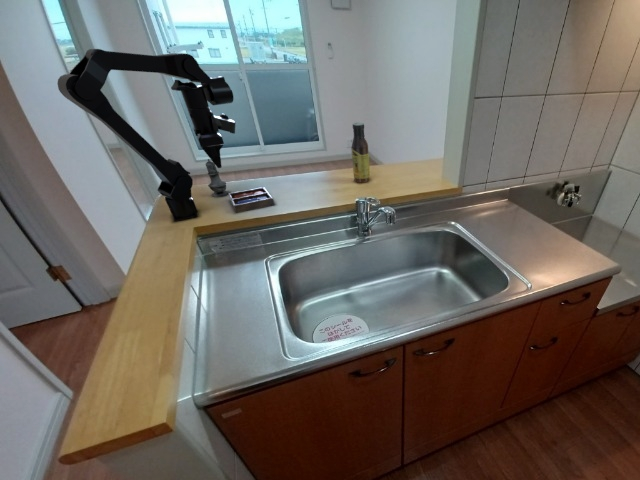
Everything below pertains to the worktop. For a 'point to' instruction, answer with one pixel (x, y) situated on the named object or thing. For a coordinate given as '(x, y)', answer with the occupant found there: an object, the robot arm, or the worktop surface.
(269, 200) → the tray
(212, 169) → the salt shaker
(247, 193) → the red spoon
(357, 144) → the sauce bottle
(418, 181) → the worktop surface
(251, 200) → the blue flashlight
